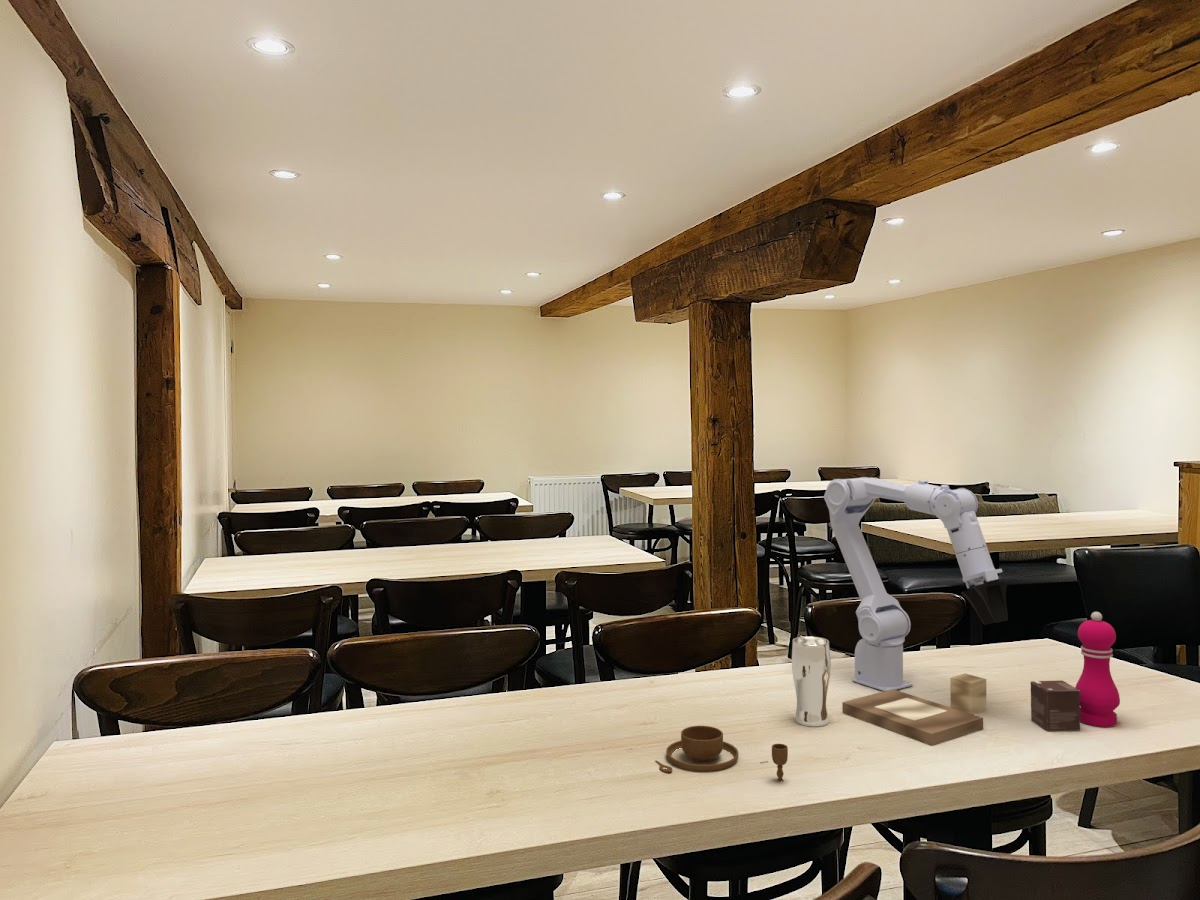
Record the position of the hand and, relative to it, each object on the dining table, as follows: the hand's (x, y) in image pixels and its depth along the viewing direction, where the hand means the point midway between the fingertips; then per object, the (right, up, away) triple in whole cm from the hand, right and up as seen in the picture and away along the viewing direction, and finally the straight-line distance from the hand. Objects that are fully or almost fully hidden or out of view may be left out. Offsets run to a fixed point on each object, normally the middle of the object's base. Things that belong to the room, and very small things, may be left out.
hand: (995, 622), depth 158 cm
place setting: (-54, -20, -19) cm, 61 cm away
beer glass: (-34, -19, +1) cm, 38 cm away
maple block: (-3, -18, +6) cm, 19 cm away
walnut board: (-16, -18, 0) cm, 24 cm away
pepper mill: (+17, -18, -2) cm, 25 cm away
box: (+9, -18, -4) cm, 20 cm away
